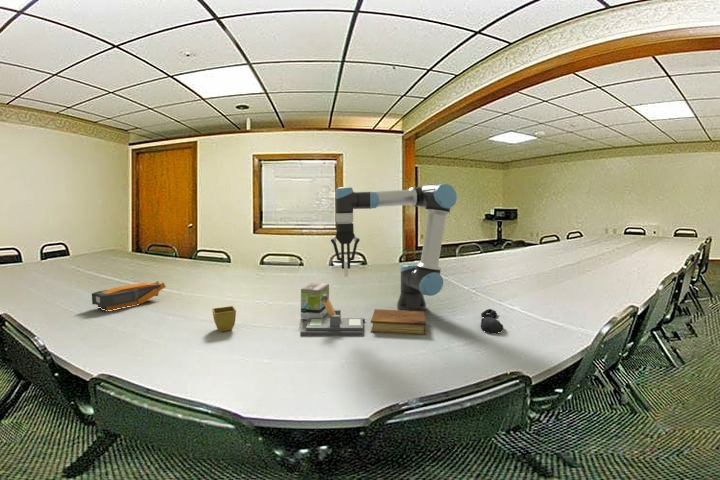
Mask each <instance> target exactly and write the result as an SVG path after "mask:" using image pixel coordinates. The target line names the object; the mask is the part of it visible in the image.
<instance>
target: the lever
mask: <svg viewBox="0 0 720 480" xmlns="http://www.w3.org/2000/svg"><path fill="white" fill-rule="evenodd" d="M321 301H322V302H323V303H324V305H325V307H326V310H327V312H328V313H327V314H328V316H329V317H330V315H336V313H335V311H334V306H333V305H332V302H331V301H330V297H329V298H328V295H327V294H323V296H322V298H321Z"/></svg>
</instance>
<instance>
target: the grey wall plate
mask: <svg viewBox="0 0 720 480" xmlns="http://www.w3.org/2000/svg"><path fill="white" fill-rule="evenodd" d="M362 318H363V317H362ZM309 319H310V318H309ZM309 319H308V320H307V323H308V322H309ZM365 320H366V319H365V318H363V323H365ZM299 335H300V336H301V337H302V336H303V337H305V336H307V337H308V336H309V337H310V336H311V337H312V336H314V337H315V336H316V337H317V336H319V337H320V336H321V337H324V336H333V337H335V336H340V337H341V336H345V337H346V336H349V337H352V336H353V337H354V336H358V337H359V336H364V330H363V331H306V330H305V331H304V330H301V331H300V334H299Z"/></svg>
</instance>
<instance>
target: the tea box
mask: <svg viewBox="0 0 720 480" xmlns="http://www.w3.org/2000/svg"><path fill="white" fill-rule="evenodd" d="M323 294H327V295H328V298H329V299H330V284H328V283H319V282H317V283H315V282H313V283H312V282H311V283H309V284H308V285H306V286H304V287H303V288H301V289H300V319H301V320H307V321H308V319H309V318H324V317H325V316H326V315H327V314H328V312H327V310H326V307H325V305H324V303H323V302H322V301H321V298H322V296H323Z"/></svg>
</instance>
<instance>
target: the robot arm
mask: <svg viewBox="0 0 720 480" xmlns="http://www.w3.org/2000/svg"><path fill="white" fill-rule="evenodd" d="M457 200H458V197H457V191H456V190H455V188H454V187H453V186H452V185H451V184H448V183H441V182H440V183H434V184H425V185H420V186H417V187H409V189H400V190H396V189H395V190H382V191H381V190H379V191H354V189H353V187H348V186H347V187H341V186H340V187H337V188H336V189H335V222H336V230H335V231H336V234H335V236H334V237H333V238H330V242H331V243H332V245H333V249H334V253H335V256H336V260H337V261H339V262H341V269H342V270H343V271H344V272H343V274H344V277H346V278H347V277H348V276H349V270H350V268H351V262H352V261H354V260H355V255H356V251H357V247H358V244H359V242H360V238H358V237H357V236H356V235H355V232H354V230H355V228H354V223H353V222H354V210H361V209H362V210H368V209H370V210H371V209H377V208H380V207H395V206H397V207H398V206H409V207H412V208H413V207H418V208H419V207H422V208H425V211H426V213H427V219H426V224H425V231H424V238H423V245H422V251H421V255H420V262H419V263H418V264H417V263H416V264H404V265H401V267H400V294H399V298H398V300H397V302H396V308H397V310H405V311H424V312H425V311H426V310H425V309H427V303H426V300H425V297H424V296H429V297H432V296H436V295H437V294H439V293H440V292H441V290H442V289H443V287H444V279H443V277H442V275H441V267H440V266H439V263H440V258H441V257H440V256H441V250H442V245H443V244H442V243H443V237H444V231H445V224H446V218H447V216H448V215H449V214H450V211H451V208H453V207H454V205H455V204H456V203H457ZM353 241H354V244H353V249H352V253H351V250H350V247H351V245H350V244H351V243H352V242H353ZM337 242H339V244H340V253H339V249H338V245H337ZM345 245H346V260H345Z"/></svg>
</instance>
